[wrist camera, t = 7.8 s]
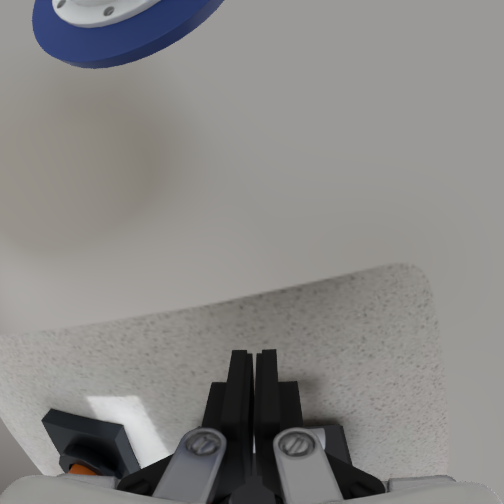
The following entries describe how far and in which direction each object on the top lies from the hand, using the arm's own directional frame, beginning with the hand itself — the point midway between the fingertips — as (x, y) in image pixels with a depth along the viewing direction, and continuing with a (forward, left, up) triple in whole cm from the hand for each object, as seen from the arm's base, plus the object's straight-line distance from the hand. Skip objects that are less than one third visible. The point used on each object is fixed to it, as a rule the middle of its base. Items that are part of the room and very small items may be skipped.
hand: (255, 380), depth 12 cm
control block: (+19, -18, -10) cm, 27 cm away
